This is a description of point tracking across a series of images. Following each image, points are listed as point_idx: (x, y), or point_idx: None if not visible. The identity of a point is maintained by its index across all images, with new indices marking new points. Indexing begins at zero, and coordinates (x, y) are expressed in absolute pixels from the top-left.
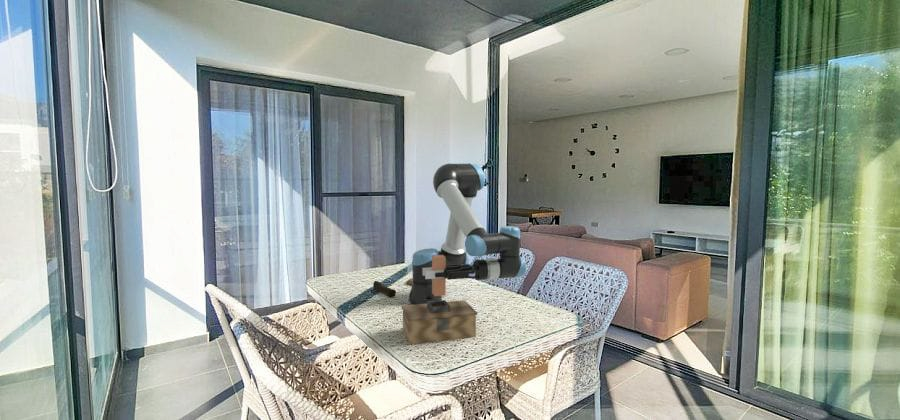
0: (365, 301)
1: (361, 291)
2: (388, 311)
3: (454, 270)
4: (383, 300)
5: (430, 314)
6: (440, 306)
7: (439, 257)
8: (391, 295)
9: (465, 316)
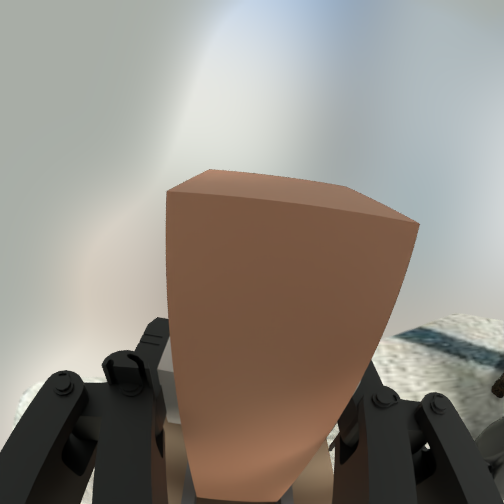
0: (459, 358)
1: (495, 348)
2: (420, 399)
3: (96, 497)
4: (475, 383)
5: (177, 443)
6: (189, 481)
7: (197, 175)
8: (496, 390)
9: None
